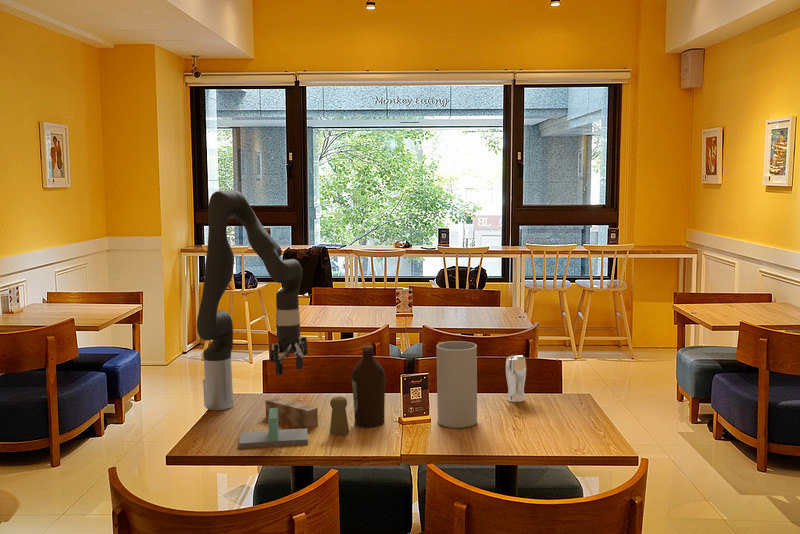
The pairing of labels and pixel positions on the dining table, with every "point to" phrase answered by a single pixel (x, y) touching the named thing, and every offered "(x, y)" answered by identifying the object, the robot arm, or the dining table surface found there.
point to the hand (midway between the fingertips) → (289, 372)
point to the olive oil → (368, 390)
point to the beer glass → (515, 377)
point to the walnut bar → (293, 412)
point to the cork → (339, 416)
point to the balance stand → (273, 435)
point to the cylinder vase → (457, 384)
